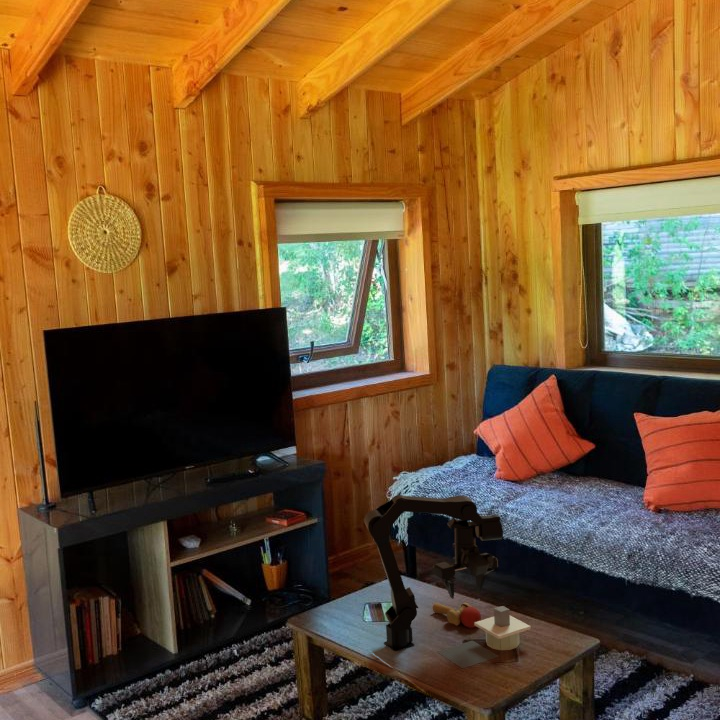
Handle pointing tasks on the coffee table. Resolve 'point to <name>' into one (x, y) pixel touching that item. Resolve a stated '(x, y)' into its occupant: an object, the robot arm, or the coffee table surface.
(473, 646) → the gray square plate
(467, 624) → the kendama
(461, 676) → the coffee table surface
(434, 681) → the coffee table surface
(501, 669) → the coffee table surface
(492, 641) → the bowl
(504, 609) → the lid
